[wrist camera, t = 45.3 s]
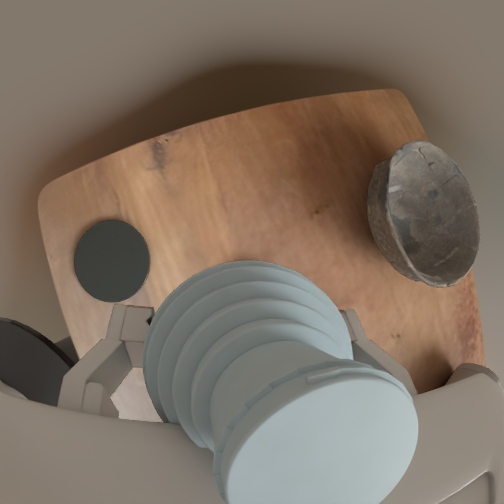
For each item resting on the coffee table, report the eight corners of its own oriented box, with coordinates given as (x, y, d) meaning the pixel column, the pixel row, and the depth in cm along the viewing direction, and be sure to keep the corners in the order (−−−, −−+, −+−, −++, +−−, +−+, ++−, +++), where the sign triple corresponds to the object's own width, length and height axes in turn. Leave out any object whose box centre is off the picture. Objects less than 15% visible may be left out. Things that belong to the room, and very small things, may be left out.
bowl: (452, 227, 46) (492, 218, 37) (402, 314, 42) (447, 320, 32) (386, 139, 44) (423, 114, 35) (318, 217, 40) (356, 199, 30)
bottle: (263, 350, 22) (461, 501, 3) (182, 364, 21) (166, 601, 2) (251, 269, 23) (476, 204, 4) (167, 281, 22) (16, 258, 2)
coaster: (91, 312, 32) (89, 313, 32) (67, 237, 32) (65, 237, 32) (162, 285, 35) (161, 285, 34) (135, 209, 35) (135, 208, 34)
